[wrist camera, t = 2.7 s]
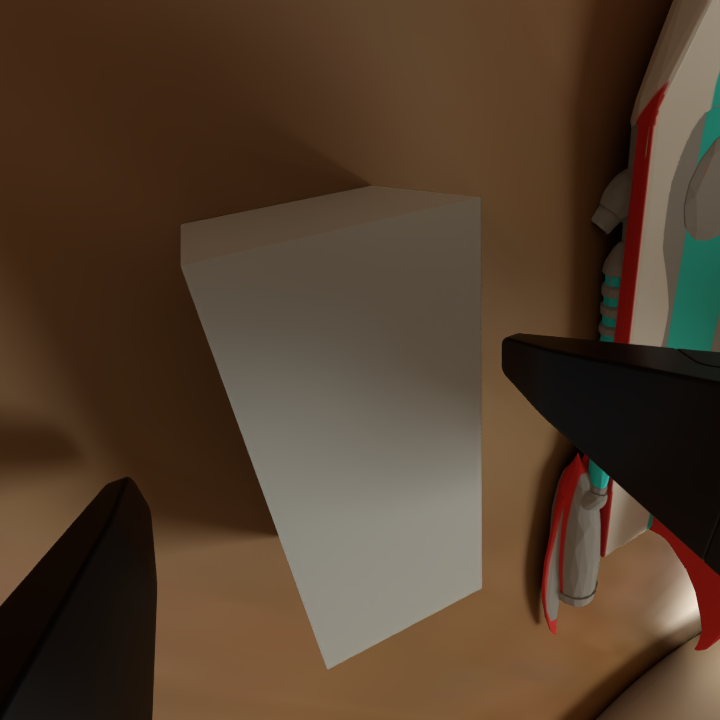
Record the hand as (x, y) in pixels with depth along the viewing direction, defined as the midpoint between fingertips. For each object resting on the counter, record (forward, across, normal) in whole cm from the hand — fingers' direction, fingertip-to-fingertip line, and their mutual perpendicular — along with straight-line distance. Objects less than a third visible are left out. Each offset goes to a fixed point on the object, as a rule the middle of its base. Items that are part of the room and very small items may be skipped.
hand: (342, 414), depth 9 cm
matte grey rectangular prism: (+2, 0, 0) cm, 2 cm away
